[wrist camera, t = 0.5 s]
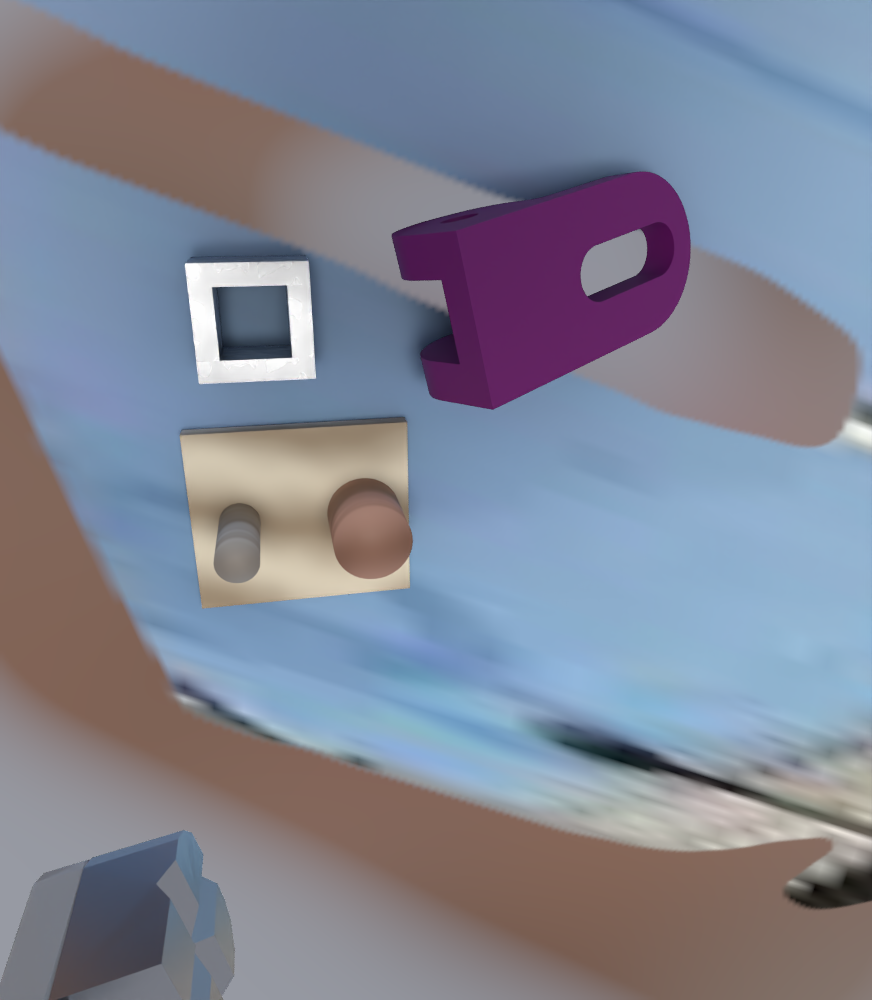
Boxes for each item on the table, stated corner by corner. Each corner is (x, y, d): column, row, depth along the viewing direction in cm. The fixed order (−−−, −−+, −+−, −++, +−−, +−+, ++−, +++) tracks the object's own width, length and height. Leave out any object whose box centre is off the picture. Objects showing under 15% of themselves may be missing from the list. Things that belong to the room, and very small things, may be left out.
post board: (181, 430, 48) (168, 467, 42) (403, 417, 51) (424, 451, 44) (203, 599, 53) (195, 658, 46) (406, 579, 55) (426, 632, 49)
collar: (191, 257, 45) (185, 263, 41) (305, 255, 46) (308, 261, 42) (204, 368, 47) (199, 383, 44) (311, 364, 48) (315, 378, 45)
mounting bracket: (579, 173, 53) (365, 238, 45) (683, 156, 47) (455, 229, 38) (598, 309, 57) (404, 393, 48) (696, 311, 51) (492, 409, 42)
